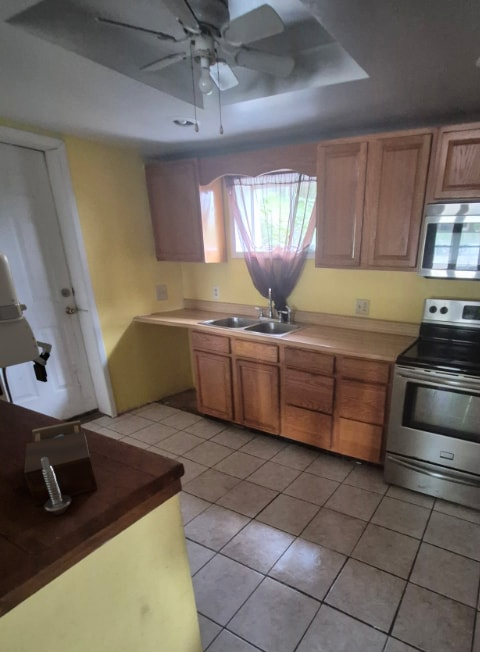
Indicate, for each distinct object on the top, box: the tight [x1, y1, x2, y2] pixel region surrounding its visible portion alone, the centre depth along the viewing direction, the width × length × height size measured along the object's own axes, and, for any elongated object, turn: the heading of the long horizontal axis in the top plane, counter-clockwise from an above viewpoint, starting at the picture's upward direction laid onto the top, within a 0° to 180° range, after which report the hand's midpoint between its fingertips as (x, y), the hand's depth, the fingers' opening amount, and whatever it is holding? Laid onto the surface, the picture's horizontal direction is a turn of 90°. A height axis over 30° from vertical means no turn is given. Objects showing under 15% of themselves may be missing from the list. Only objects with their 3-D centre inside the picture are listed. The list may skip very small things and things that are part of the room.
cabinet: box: [23, 430, 99, 508], centre depth 84 cm, size 14×12×9 cm
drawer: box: [31, 419, 83, 442], centre depth 93 cm, size 17×10×7 cm, turn 32°
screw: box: [41, 457, 73, 516], centre depth 74 cm, size 13×5×5 cm
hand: (21, 387), depth 86 cm, fingers open, 9 cm apart
